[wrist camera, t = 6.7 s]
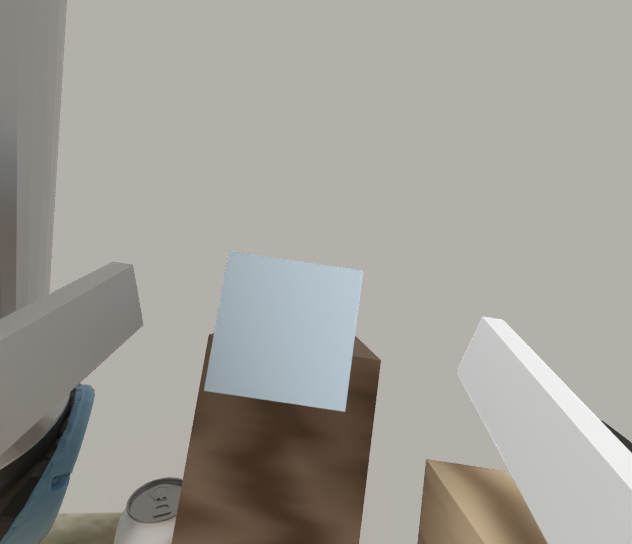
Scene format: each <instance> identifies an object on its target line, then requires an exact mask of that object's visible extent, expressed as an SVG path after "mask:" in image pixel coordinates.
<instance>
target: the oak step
mask: <svg viewBox="0 0 632 544" xmlns="http://www.w3.org/2000/svg"><path fill="white" fill-rule="evenodd" d="M418 544H548V543H547V541H546V540H545V538H544V536H543V534H542V532H541V530H540V528H539V526H538V524H537V523H536V521H535V519H534V517H533V515H532V513H531V511H530V509H529V508H528V506H527V504H526V502H525V500H524V498H523V496H522V494H521V493H520V491H519V489H518V487H517V485H516V483H515V481H514V480H513V479H512V478H511V477H510V476H509V475H508V474H507V473H506V472H505V471H501V470H495V469H489V468H482V467H475V466H468V465H462V464H455V463H448V462H441V461H435V460H429V459H426V467H425V477H424V487H423V496H422V507H421V516H420V526H419V535H418Z"/></svg>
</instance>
